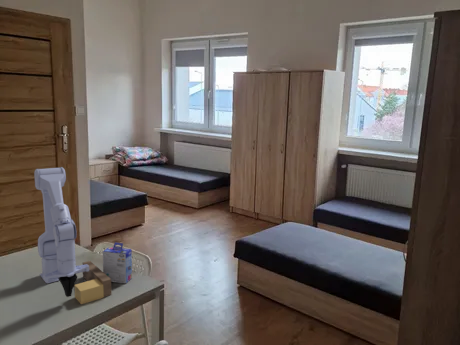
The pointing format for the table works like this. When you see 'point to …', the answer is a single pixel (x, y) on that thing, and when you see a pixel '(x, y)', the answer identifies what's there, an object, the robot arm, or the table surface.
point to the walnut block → (98, 277)
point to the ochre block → (89, 291)
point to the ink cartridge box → (118, 263)
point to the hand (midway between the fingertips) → (68, 295)
